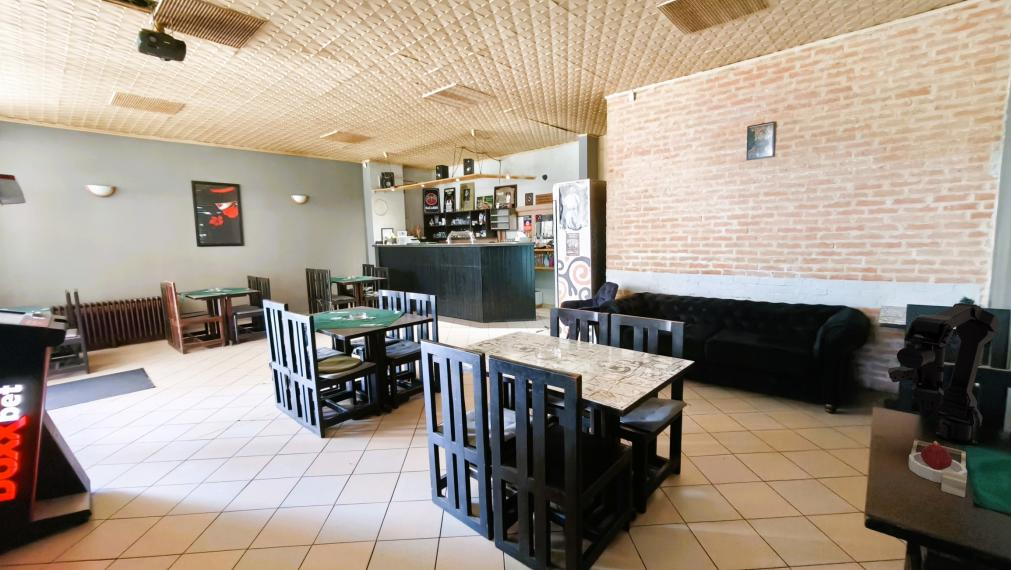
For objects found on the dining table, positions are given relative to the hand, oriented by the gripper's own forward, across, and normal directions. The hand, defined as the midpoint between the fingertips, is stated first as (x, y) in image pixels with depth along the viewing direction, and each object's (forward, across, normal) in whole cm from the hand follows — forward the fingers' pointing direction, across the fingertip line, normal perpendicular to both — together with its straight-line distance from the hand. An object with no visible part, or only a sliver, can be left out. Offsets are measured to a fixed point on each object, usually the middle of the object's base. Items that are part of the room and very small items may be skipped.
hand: (926, 412), depth 120 cm
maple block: (+12, +18, +6) cm, 23 cm away
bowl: (+12, +11, +3) cm, 17 cm away
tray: (+13, 0, +3) cm, 13 cm away
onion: (+12, +11, +3) cm, 16 cm away
